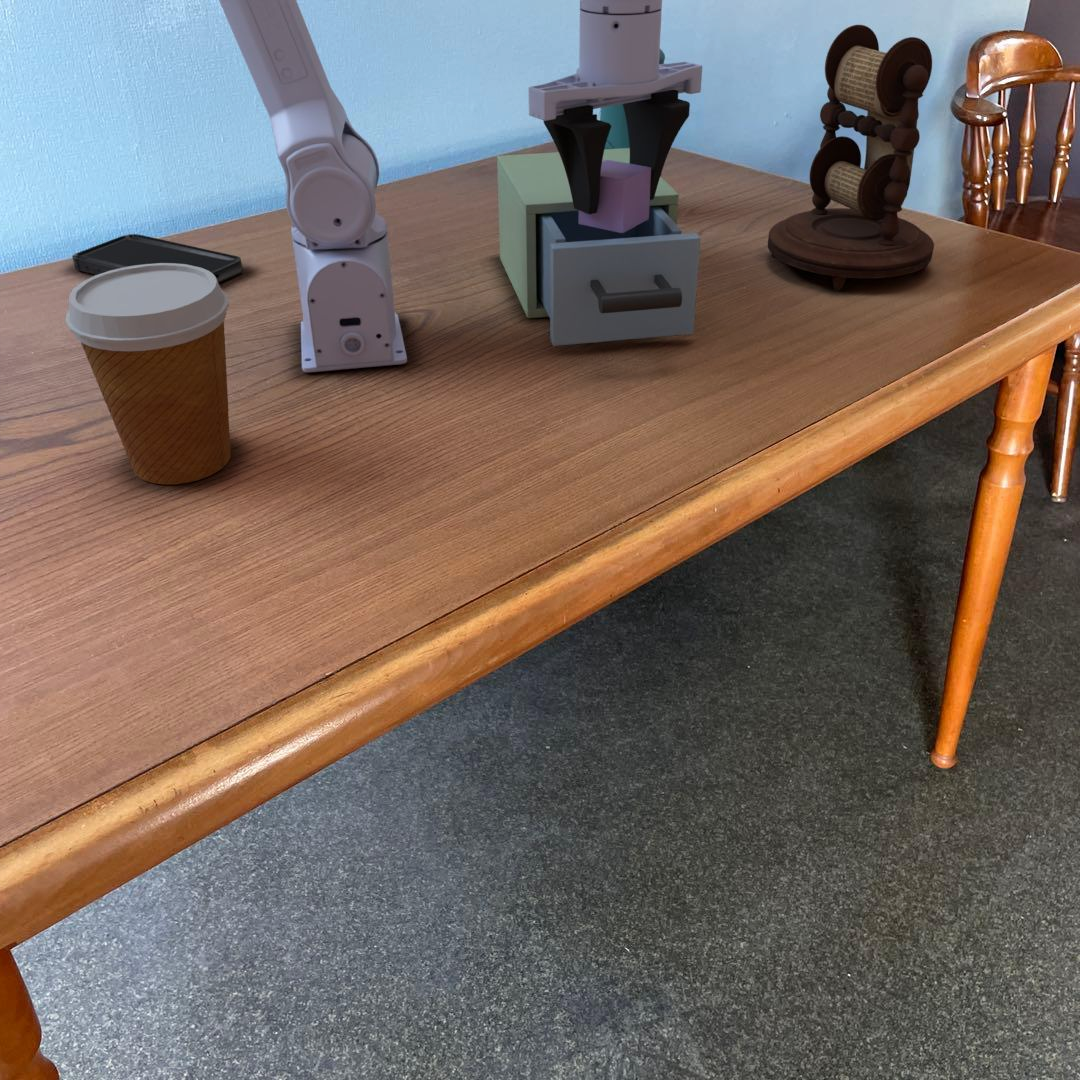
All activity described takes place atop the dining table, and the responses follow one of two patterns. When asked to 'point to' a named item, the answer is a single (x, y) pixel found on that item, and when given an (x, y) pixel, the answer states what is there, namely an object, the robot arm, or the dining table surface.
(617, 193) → the purple cube
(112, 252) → the phone
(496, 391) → the dining table surface
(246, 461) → the dining table surface
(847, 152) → the spool holder stand
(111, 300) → the disposable coffee cup
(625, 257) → the drawer
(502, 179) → the green drawer cabinet
